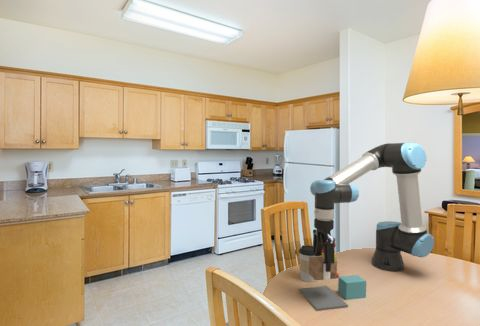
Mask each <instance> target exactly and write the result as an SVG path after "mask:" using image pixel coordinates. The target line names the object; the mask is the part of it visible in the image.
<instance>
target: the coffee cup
mask: <svg viewBox="0 0 480 326" xmlns="http://www.w3.org/2000/svg"><path fill="white" fill-rule="evenodd" d="M298 255H299V257H298V260H299V270H300V279H301V280H302V281H304V282H308V283H312V282H316V280H315V279H314V278H313V277H311V276H310V275H309V257H315V253H313V245H301V246H300V248H299V250H298Z"/></svg>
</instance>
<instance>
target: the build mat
mask: <svg viewBox="0 0 480 326" xmlns="http://www.w3.org/2000/svg"><path fill="white" fill-rule="evenodd" d="M298 291H299V292H300V294H302V295H303V297H304V298H305V299H306V300H307V301H308V303H310V305H311V306H312V307H313V309H315V311H317V312H318V311H319V312H320V311H327V310H335V309H345V308H349V304H347V303H346V302H345V301H344V299H342V298H341V297H340V296H339V295H337V294H336V293H335V291H333V290H332V289H331V288H330V287H329V286H328V285H323V286H322V285H321V286H313V287H312V286H311V287H302V288H298Z"/></svg>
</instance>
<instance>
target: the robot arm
mask: <svg viewBox="0 0 480 326" xmlns="http://www.w3.org/2000/svg"><path fill="white" fill-rule="evenodd" d="M426 162H427V154H426V151H425V149H424V148H423V146H421V145H420V144H418V143H416V142H415V143H413V142H394V143H389V142H388V143H384V144H380V145H377V146H375V147H373V148H371V149H370V150H368V151H366V152H364V153H363V154H362V156H361V157H360V158H358V159H357V160H355V161H353V162H351V163H350V164H348V165H346V166H344V167H343V168H341V169H340V170H337V171H336V172H334V173H333V174H331V175H329V176H328V177H325V178H324V179H317V180H314V181H313V182H312V183H311V184H310V186H309V187H310V188H309V189H310V193H311V195H313V196H314V210H313V213H314V219H313V227H314V228H315V229H313V230H312V234H313V237H312V238H313V239H312V246H313V253H315V257H319V256H320V255H322V248H323V251H324V260H325V262H323V279H324V280H325V281H326V280H331V279H330V271H331V264H332V263H334V262H335V261H334V250H335V248H334V244H335V243H336V238H335V237H332V234H331V231H332V230H334V218H335V204H345V203H347V204H349V203H353V202H356V201H357V200H358V199H359V197H360V191H359V189H358V187H357V186H356V185H355V184H352V182H354V181H355V180H357V179H359V178H360V177H362V176H363V175H366V174H367V173H369V172H370V171H376V170H377V169H380V168H391V172H392V174H393V175H395V176H396V183H397V184H396V185H397V194H398V202H399V211H400V221H401V222H399V221H390V220H389V221H387V220H386V221H378V223H376V228H375V250H374V253H373V256H372V258H371V265H373V266H374V267H376V268H378V269H380V270H384V271H388V272H401V271H404V269H405V263H404V260H403V256H402V254H401V253H406V254H408V255H411V256H413V257H417V258H422V259H423V258H426V257H428V256H429V255H430V254H431V252H432V250H433V249H434V245H435V239H434V236H433V235H432V234H430V233H428V228H427V226H426V225H425V224H423V215H422V206H421V197H420V184H419V174H420V173H421V172H422V169H423V168H424V167H425V165H426Z"/></svg>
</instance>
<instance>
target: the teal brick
mask: <svg viewBox="0 0 480 326" xmlns="http://www.w3.org/2000/svg"><path fill="white" fill-rule="evenodd" d="M337 281H338V283H337V292H338V294H339V295H340V296H341V297H342V298H343V299H344V300H346V301H348V300H357V299H365V298H367V280H366V279H365V278H362V277H361V276H360V275H359V274H354V275H353V274H352V275H342V276H339V277H338V280H337Z"/></svg>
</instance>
